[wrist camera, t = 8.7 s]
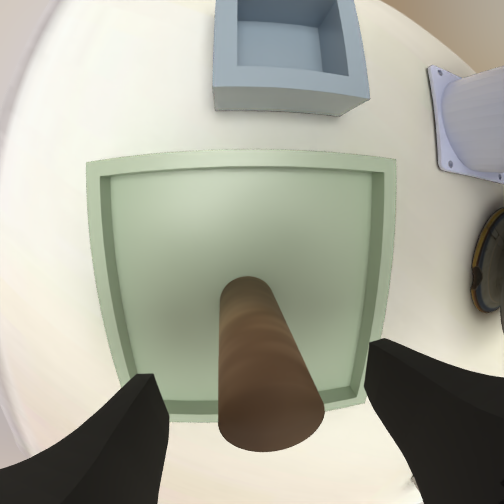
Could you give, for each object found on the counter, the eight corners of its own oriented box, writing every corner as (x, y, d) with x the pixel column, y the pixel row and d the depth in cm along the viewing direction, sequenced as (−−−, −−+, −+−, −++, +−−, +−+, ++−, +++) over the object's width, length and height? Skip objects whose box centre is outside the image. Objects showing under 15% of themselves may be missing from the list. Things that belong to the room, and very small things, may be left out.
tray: (377, 161, 15) (396, 159, 13) (354, 387, 19) (364, 403, 17) (101, 164, 14) (86, 162, 12) (138, 400, 17) (132, 418, 15)
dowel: (271, 272, 15) (326, 373, 7) (275, 322, 16) (321, 441, 7) (216, 279, 15) (208, 391, 6) (223, 328, 16) (227, 456, 7)
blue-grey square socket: (329, 22, 13) (351, -8, 9) (339, 116, 14) (370, 99, 11) (217, 13, 12) (217, -24, 8) (215, 110, 14) (212, 86, 10)
